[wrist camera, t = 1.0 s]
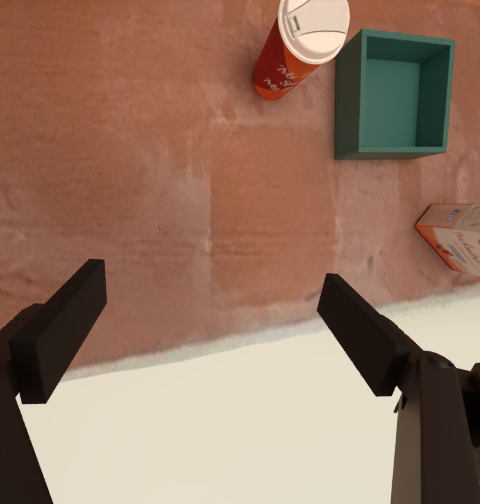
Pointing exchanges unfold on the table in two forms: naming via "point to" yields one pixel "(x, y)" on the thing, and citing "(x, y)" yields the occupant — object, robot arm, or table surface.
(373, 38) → the bin
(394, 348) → the robot arm
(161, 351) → the table surface
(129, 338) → the table surface
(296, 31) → the paper cup
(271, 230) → the table surface
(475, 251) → the cracker box
